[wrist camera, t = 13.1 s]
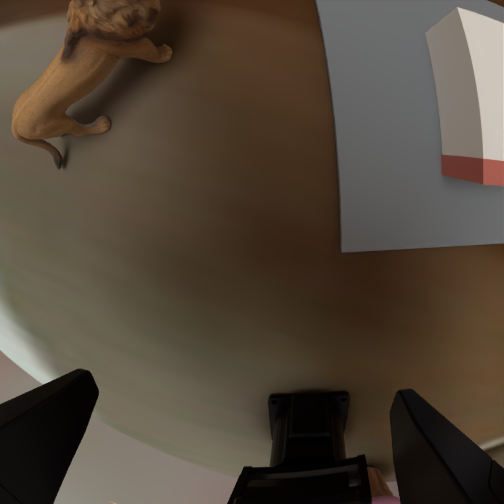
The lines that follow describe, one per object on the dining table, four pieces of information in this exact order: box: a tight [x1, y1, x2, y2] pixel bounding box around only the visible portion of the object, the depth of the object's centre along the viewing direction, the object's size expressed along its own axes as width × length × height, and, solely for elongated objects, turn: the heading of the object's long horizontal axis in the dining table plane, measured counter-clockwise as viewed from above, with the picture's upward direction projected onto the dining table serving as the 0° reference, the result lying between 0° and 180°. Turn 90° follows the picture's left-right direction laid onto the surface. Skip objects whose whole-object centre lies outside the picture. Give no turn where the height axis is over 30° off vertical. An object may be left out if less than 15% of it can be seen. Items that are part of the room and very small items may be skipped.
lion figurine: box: [11, 0, 173, 169], centre depth 12 cm, size 15×5×9 cm, turn 139°
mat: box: [315, 0, 504, 253], centre depth 13 cm, size 18×18×1 cm
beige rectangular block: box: [425, 7, 504, 186], centre depth 11 cm, size 5×9×5 cm, turn 5°
